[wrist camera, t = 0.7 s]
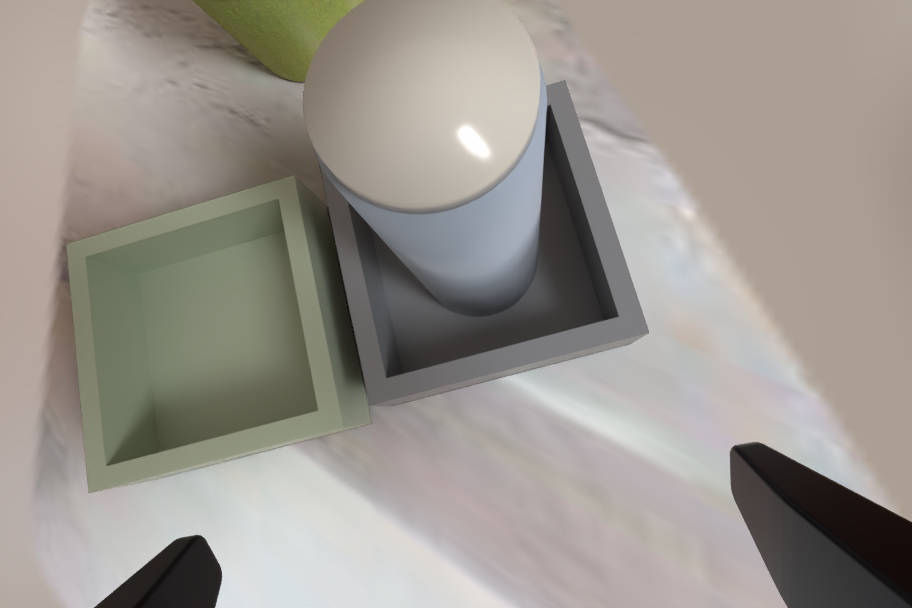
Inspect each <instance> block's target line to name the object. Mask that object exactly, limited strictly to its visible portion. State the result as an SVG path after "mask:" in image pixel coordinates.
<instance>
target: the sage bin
mask: <svg viewBox="0 0 912 608" xmlns="http://www.w3.org/2000/svg"><path fill="white" fill-rule="evenodd" d="M66 248H67V259H68V270H69V281H70V292H71V304H72V315H73V326H74V337H75V348H76V359H77V370H78V381H79V393H80V404H81V415H82V426H83V437H84V448H85V459H86V470H87V482H88V493H92V492H97V491H102V490H107V489H112V488H117V487H121V486H126V485H131V484H136V483H141V482H146V481H151V480H155V479H159V478H163V477H167V476H171V475H175V474H179V473H183V472H186V471H190V470H194V469H198V468H202V467H206V466H210V465H214V464H217V463H221V462H225V461H229V460H233V459H237V458H241V457H245V456H248V455H252V454H256V453H260V452H264V451H268V450H272V449H276V448H279V447H283V446H287V445H291V444H295V443H299V442H303V441H307V440H310V439H314V438H318V437H322V436H326V435H330V434H334V433H338V432H341V431H345V430H349V429H353V428H357V427H361V426H365V425H369V424H372V422H371V417H370V412H369V407H368V403H367V398H366V393H365V388H364V383H363V379H362V374H361V369H360V364H359V359H358V355H357V350H356V345H355V340H354V335H353V331H352V326H351V321H350V316H349V311H348V307H347V302H346V297H345V292H344V287H343V283H342V278H341V273H340V268H339V263H338V258H337V254H336V249H335V244H334V239H333V234H332V230H331V225H330V220H329V215H328V210H327V207H326V206H325V205H324V204H323V203H322V202H321V201H320V200H319V199H318V198H317V197H316V196H315V195H314V194H313V193H312V192H311V191H310V190H309V189H308V188H307V187H306V186H305V185H304V184H303V183H302V182H301V181H300V180H299V179H298V178H297V177H296V176H295V175H292V176H288V177H285V178H282V179H278V180H275V181H272V182H269V183H265V184H262V185H259V186H255V187H252V188H249V189H246V190H242V191H239V192H236V193H232V194H229V195H226V196H222V197H219V198H216V199H213V200H209V201H206V202H203V203H199V204H196V205H193V206H190V207H186V208H183V209H180V210H176V211H173V212H170V213H166V214H163V215H160V216H157V217H153V218H150V219H147V220H143V221H140V222H137V223H134V224H130V225H127V226H124V227H120V228H117V229H114V230H110V231H107V232H104V233H101V234H97V235H94V236H91V237H87V238H84V239H81V240H78V241H74V242H71V243H68V244H66Z"/></svg>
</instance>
